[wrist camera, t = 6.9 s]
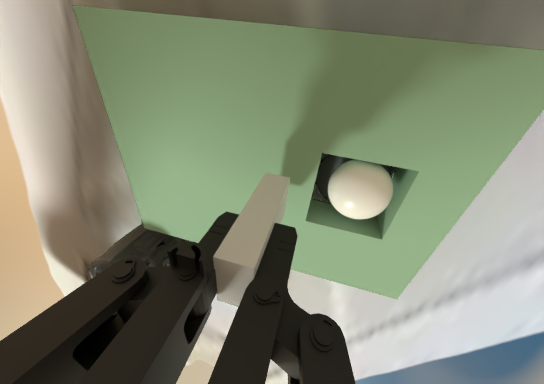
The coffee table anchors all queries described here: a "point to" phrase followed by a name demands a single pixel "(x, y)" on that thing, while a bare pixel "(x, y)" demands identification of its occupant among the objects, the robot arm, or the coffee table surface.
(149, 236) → the camera
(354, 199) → the golf ball
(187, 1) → the coffee table surface
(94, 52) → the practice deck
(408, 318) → the coffee table surface
